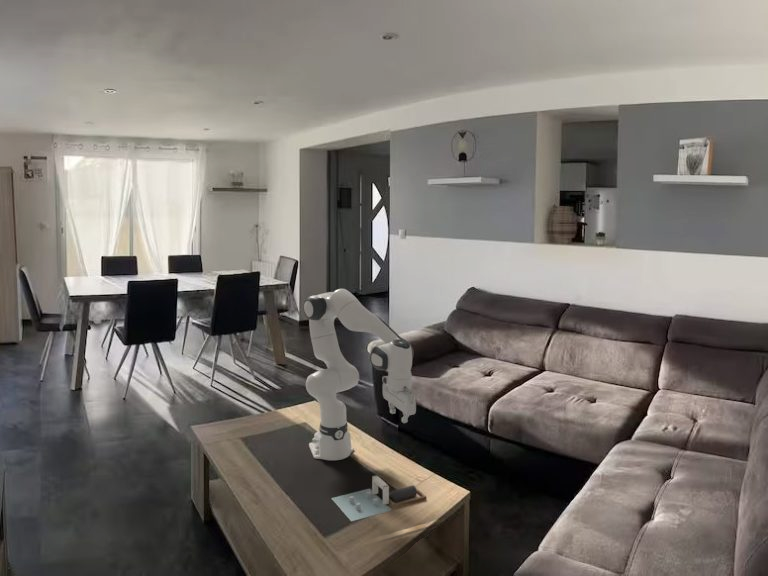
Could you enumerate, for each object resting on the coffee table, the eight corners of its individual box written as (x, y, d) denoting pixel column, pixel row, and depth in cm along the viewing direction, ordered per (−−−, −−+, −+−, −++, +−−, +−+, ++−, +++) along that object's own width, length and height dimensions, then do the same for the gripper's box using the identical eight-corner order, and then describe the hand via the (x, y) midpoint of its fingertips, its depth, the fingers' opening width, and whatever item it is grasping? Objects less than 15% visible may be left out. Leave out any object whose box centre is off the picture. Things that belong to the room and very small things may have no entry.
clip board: (331, 500, 221) (331, 493, 220) (369, 490, 228) (369, 483, 227) (351, 524, 205) (351, 515, 204) (392, 512, 212) (392, 504, 212)
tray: (383, 500, 221) (383, 494, 220) (414, 491, 227) (414, 486, 227) (394, 510, 213) (394, 505, 213) (426, 501, 219) (426, 496, 219)
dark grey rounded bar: (391, 501, 220) (389, 490, 220) (412, 496, 224) (410, 485, 225) (396, 502, 216) (394, 491, 217) (417, 496, 220) (415, 485, 221)
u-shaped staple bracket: (372, 493, 223) (372, 476, 222) (377, 492, 224) (376, 475, 223) (384, 504, 215) (383, 487, 214) (388, 503, 216) (388, 486, 215)
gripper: (420, 390, 216) (419, 426, 218) (394, 373, 233) (393, 407, 236) (405, 393, 213) (404, 429, 215) (380, 375, 231) (379, 409, 233)
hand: (398, 417), depth 226 cm, fingers open, 8 cm apart
